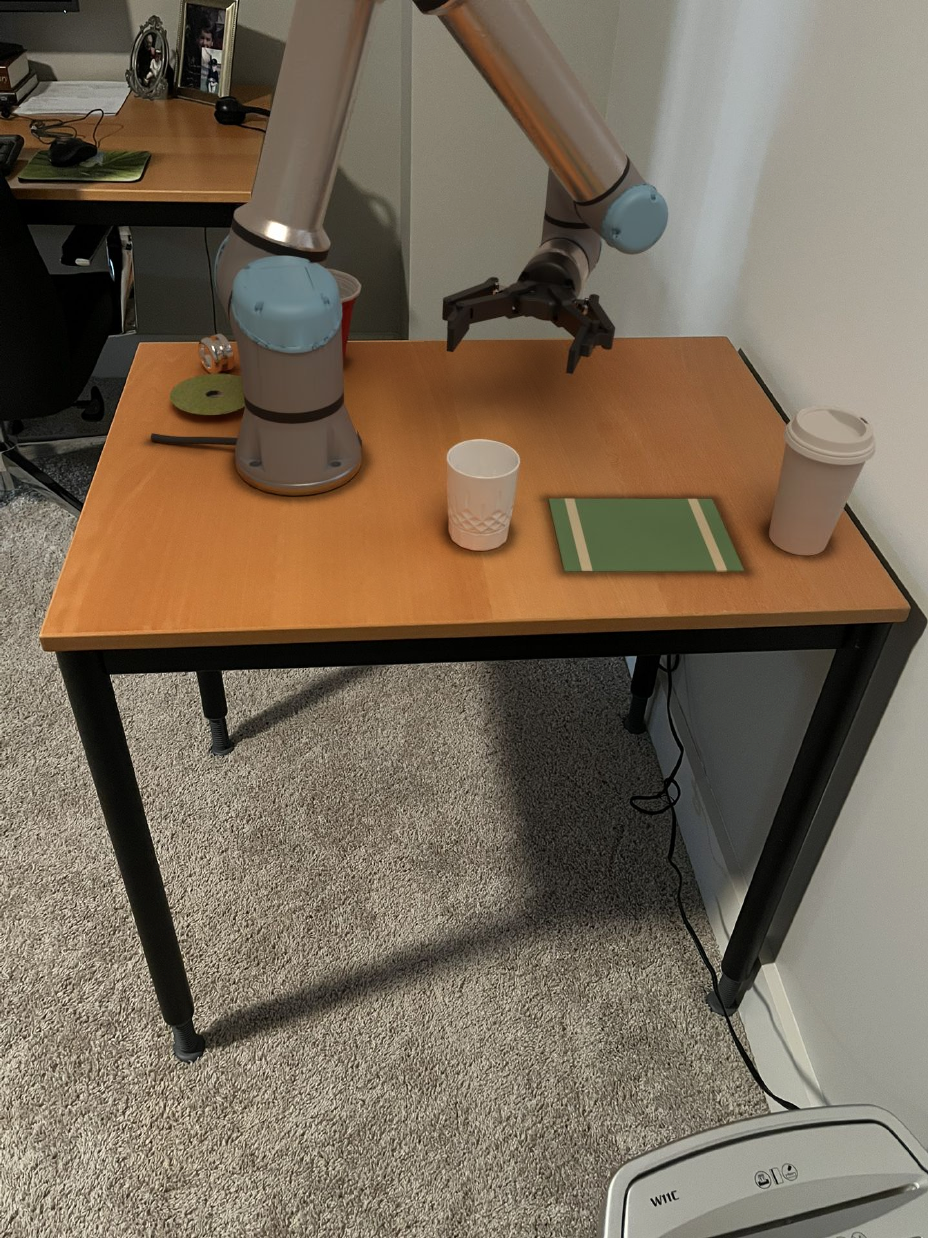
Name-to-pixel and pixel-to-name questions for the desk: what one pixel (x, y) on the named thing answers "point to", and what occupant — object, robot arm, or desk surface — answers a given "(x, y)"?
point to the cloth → (642, 536)
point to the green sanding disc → (209, 394)
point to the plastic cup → (346, 301)
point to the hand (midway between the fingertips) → (509, 351)
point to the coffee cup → (818, 476)
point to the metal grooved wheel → (216, 353)
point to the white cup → (481, 492)
